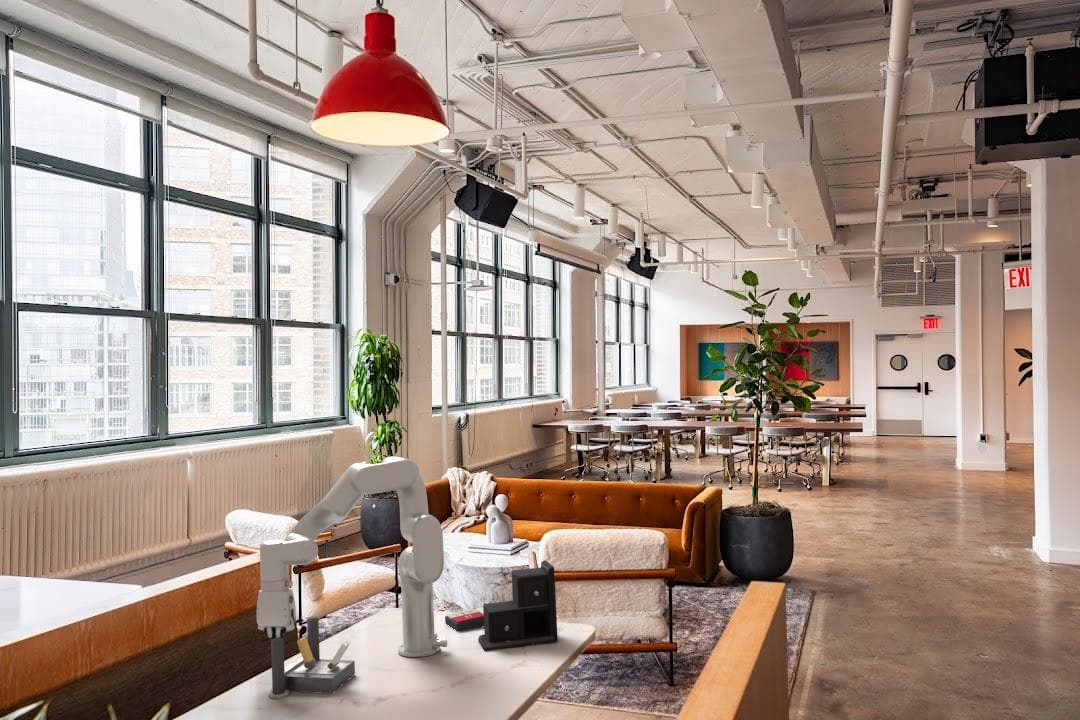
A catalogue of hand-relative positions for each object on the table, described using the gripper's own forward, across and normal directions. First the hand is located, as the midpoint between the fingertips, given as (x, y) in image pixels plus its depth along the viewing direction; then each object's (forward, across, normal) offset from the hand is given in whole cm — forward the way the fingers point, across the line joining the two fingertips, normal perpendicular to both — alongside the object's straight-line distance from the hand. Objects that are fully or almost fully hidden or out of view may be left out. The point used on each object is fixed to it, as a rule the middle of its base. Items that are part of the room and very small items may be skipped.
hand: (276, 650), depth 237 cm
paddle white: (+3, -17, 0) cm, 17 cm away
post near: (+8, -6, +10) cm, 14 cm away
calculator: (+9, -39, -58) cm, 70 cm away
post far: (+8, -6, -10) cm, 14 cm away
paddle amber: (+3, -10, 0) cm, 10 cm away
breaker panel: (+8, -12, 0) cm, 15 cm away
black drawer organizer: (+9, -59, -41) cm, 72 cm away
